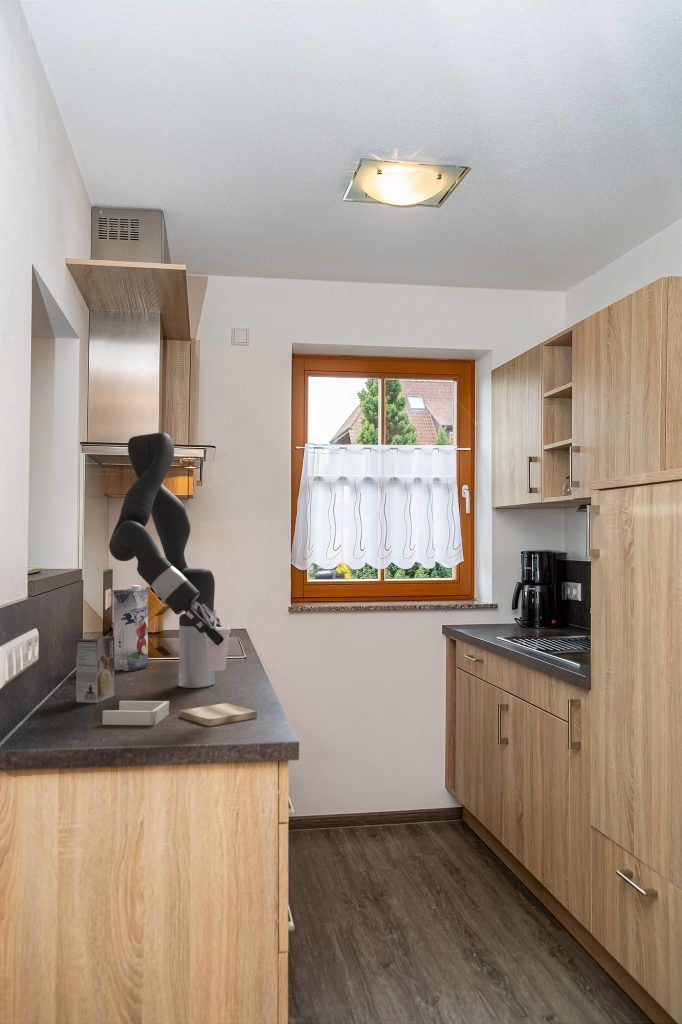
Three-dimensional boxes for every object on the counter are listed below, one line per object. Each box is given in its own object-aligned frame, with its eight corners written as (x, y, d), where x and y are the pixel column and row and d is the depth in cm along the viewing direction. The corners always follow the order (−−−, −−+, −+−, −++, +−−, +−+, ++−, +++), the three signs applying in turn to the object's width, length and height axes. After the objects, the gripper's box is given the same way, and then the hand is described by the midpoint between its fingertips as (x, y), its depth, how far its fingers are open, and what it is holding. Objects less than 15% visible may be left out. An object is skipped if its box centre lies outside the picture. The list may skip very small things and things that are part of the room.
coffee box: (93, 695, 220) (93, 635, 221) (115, 696, 219) (115, 635, 219) (75, 702, 211) (75, 639, 212) (98, 703, 210) (98, 640, 210)
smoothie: (204, 667, 196) (204, 608, 196) (231, 667, 196) (231, 608, 197) (202, 671, 190) (202, 610, 190) (230, 671, 190) (230, 610, 191)
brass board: (226, 709, 202) (226, 703, 202) (256, 717, 192) (256, 711, 192) (179, 716, 193) (179, 710, 193) (208, 726, 183) (208, 719, 184)
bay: (102, 724, 186) (102, 711, 186) (120, 713, 197) (120, 700, 198) (154, 725, 185) (154, 711, 185) (169, 713, 197) (169, 701, 197)
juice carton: (108, 670, 261) (109, 585, 262) (128, 666, 271) (128, 583, 272) (132, 672, 258) (133, 586, 259) (151, 667, 268) (151, 584, 269)
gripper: (178, 580, 187) (229, 633, 186) (194, 577, 201) (241, 626, 200) (155, 603, 187) (206, 656, 186) (172, 599, 202) (219, 648, 200)
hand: (224, 640), depth 193 cm, fingers closed on smoothie, 6 cm apart
